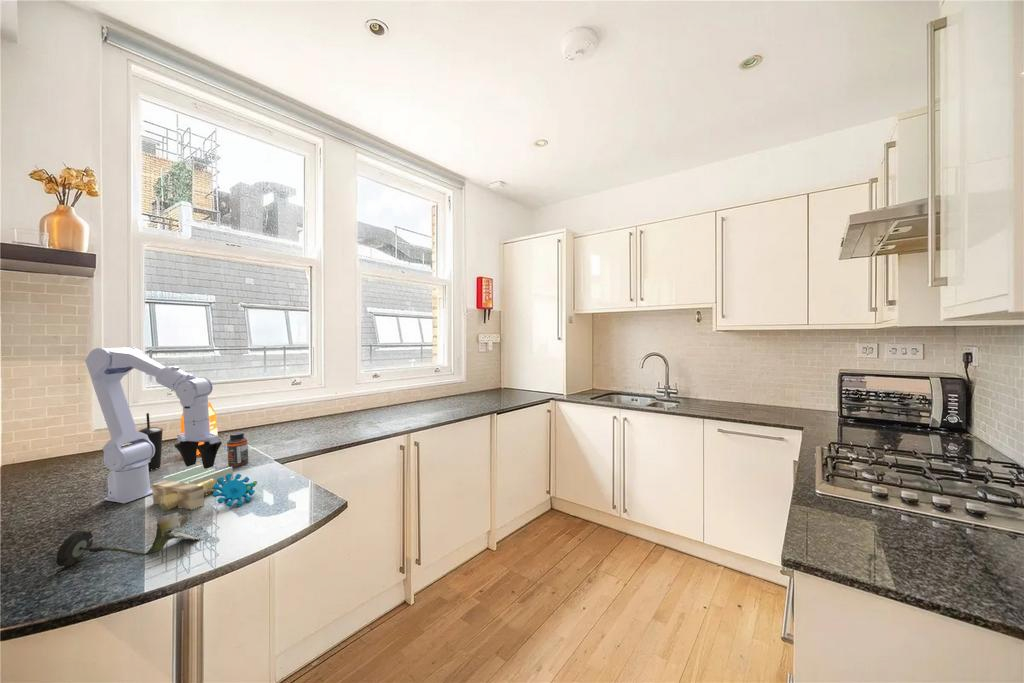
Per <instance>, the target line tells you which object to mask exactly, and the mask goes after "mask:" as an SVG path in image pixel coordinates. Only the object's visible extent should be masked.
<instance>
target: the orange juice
mask: <svg viewBox="0 0 1024 683" xmlns="http://www.w3.org/2000/svg"><path fill="white" fill-rule="evenodd" d="M208 407H209V423H210V433H212V434H214V435H218V424H217V421H218V420H217V413H216V412H215V409H214V408H213V406H212V404H211V402H210V401H208ZM180 431H181V432H180V434H183V433H184V419H183V412H182V414H181V417H180ZM201 444H204V442H199V444H198V445H201ZM199 454H200V452H199V450H198V449H197V453H196V456H199Z"/></svg>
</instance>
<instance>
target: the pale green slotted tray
mask: <svg viewBox="0 0 1024 683" xmlns="http://www.w3.org/2000/svg"><path fill="white" fill-rule="evenodd" d="M233 471H234V469H233V467H230V466H228V467H226V468H223V469H220V470H217V469H216V468H212V469H208V468H207V469H204V467H203V464H201V465H197V466H194V467H191V468H188V469H184V470H181V471H178V472H176V473H172V474H169V475H166V476H163V477H162V481H164V480H166V481H174V482H181V483H188V484H195V485H196V484H198V483H201V482H204V481H207V480H210V479H214V480H215V481H216V483H218V482H217V480H218V479H219V478H221V477H223V478H224V480H226V481H227V479H226V475H227V474H232V477H233V478H234V474H233V473H234V472H233ZM224 480H223V482H225V481H224ZM218 484H219V483H218Z"/></svg>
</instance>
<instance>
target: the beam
mask: <svg viewBox="0 0 1024 683" xmlns="http://www.w3.org/2000/svg"><path fill="white" fill-rule="evenodd" d="M151 487H152V488H151V489H152V491H153V494H152V500H153V501H152V502H153V503H155V504H154V505H159V504H160V499H161V497H163V496H165V495H168V494H171V493H174V492H176V491H177V495H178V507H177V508H178V509H182V508H185V509H184V510H188V509H191V510H190V511H193V510H192V509H194V508H196V507H198V506H201V505H203V504H204V505H205V496H204V492H203V486H202V485H195V484H188V483H181V482H174V481H166V480H164V481H163V480H162V481H158V482H156V483H155V482H154V483H152V484H151ZM153 503H152V504H153ZM204 505H203V506H204ZM201 507H202V506H201ZM196 509H197V508H196ZM194 510H195V509H194Z"/></svg>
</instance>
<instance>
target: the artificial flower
mask: <svg viewBox="0 0 1024 683" xmlns="http://www.w3.org/2000/svg"><path fill="white" fill-rule="evenodd" d="M189 519H190V515H189V514H188V513H187V514H183V515H182V514H180V513H179V512H173V513H171V514H168V515H164V516H163V515H161V516H158V519H157V522H156V533H155V537H154V541H153V542H152V544H151V547H150V548H149V549H148V551H147V552H144V553H143V552H137V551H135V550H134V551H133V550H129V549H124V548H118V547H114V548H111V547H103V546H98V547H97V546H96V547H93V546H92V545H93V543H94V541H93V540H94V539H92V538H93V536H94V535H93V532H91V531H88V530H87V531H86V530H77V531H75V532H72V534H70V535H69V536H68V537H67V538H66V539H65V540H64V541H63V543H61V545H60V547H59V548H58V550H57V554H56V560H55V563H56V564H57V568H59V567H72V566H73V565H72V564H75V563H77V562H78V561H80V559H81V557H82V556H83V554H84V553H85V551H89V553H92V552H93V553H98V552H104V551H109V552H116V553H117V552H122V553H125V554H126V553H127V554H130V555H135V556H139V555H142V556H147V555H149V554H152V553H155V552H157V551H159V550H162V549H163V548H164V546H165V544H166V543H167V542H169V541H170V540H173V539H184V540H193V541H195V540H198V539H197V538H196V537H194V536H192V535H190V534H186V533H183V532H182V531H181V532H173V531H176V530H179V529H182V528H183V527H184V526H185V525H186V524H187V523H188V521H189ZM76 561H77V562H76ZM74 562H75V563H74Z"/></svg>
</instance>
